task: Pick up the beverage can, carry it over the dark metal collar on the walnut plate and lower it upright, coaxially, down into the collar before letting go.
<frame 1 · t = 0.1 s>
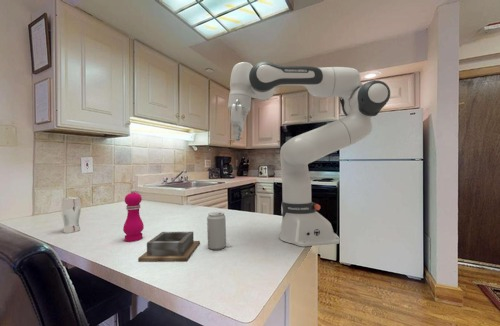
hand: (236, 140, 87), 39 cm above the kitchen counter, tool pointing down, fingers open, 8 cm apart
pepper mill: (133, 239, 88), on the kitchen counter
beverage can: (216, 247, 78), on the kitchen counter
beer glass: (71, 231, 100), on the kitchen counter
collar plate: (172, 251, 74), on the kitchen counter
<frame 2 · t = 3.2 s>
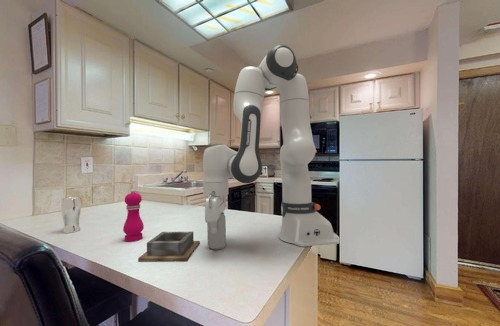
hand: (216, 229, 78), 6 cm above the kitchen counter, tool pointing down, fingers closed on beverage can, 6 cm apart
beverage can: (216, 247, 78), on the kitchen counter, touching gripper
everything else where it was.
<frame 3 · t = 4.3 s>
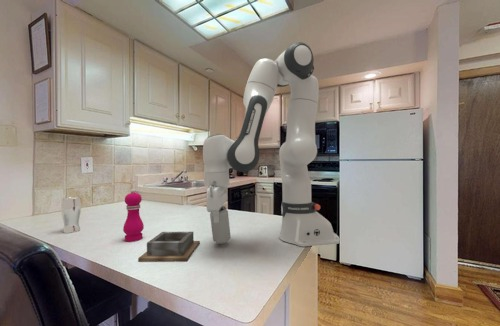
hand: (218, 219, 78), 10 cm above the kitchen counter, tool pointing down, fingers closed on beverage can, 6 cm apart
beverage can: (222, 240, 80), point 1 cm above the kitchen counter, touching gripper
everything else where it was.
when the fingers open (13 cm above the kitchen counter, at t = 8.1 s): beverage can stays where it is, resting on collar plate.
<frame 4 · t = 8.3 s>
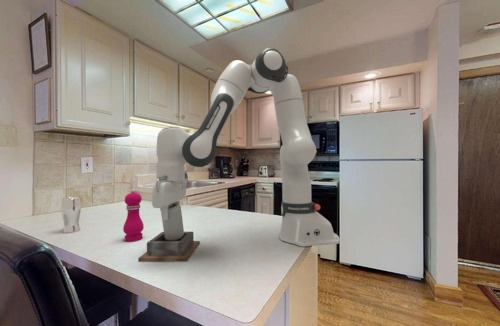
hand: (170, 216, 74), 12 cm above the kitchen counter, tool pointing down, fingers open, 7 cm apart
beverage can: (174, 237, 76), point 4 cm above the kitchen counter, touching collar plate, gripper
everything else where it was.
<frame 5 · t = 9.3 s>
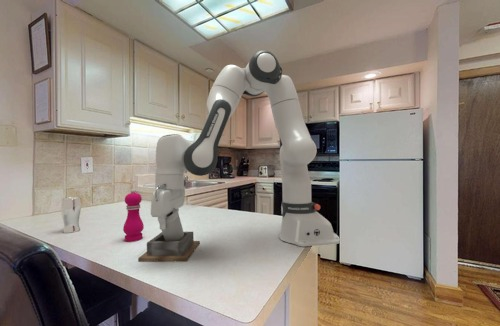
hand: (169, 224, 73), 9 cm above the kitchen counter, tool pointing down
beverage can: (175, 238, 77), point 4 cm above the kitchen counter, touching collar plate, gripper
everything else where it was.
when the fingers open (9 cm above the kitchen counter, at t = 9.4 s): beverage can drops 3 cm, resting on collar plate.
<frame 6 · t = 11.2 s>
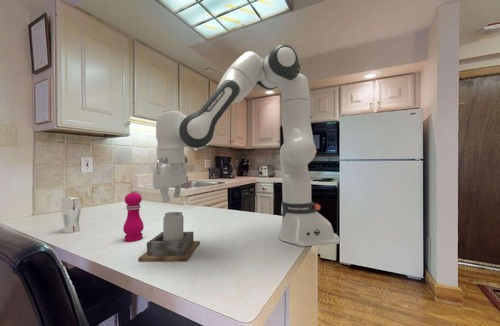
hand: (172, 199, 74), 17 cm above the kitchen counter, tool pointing down, fingers open, 8 cm apart
beverage can: (173, 249, 74), point 1 cm above the kitchen counter, touching collar plate
everything else where it was.
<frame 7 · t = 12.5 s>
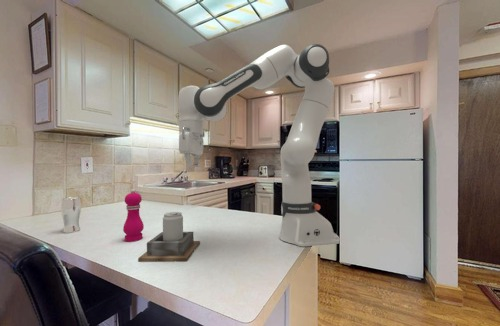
hand: (193, 166, 83), 28 cm above the kitchen counter, tool pointing down, fingers open, 8 cm apart
nothing on the kitchen counter moved.
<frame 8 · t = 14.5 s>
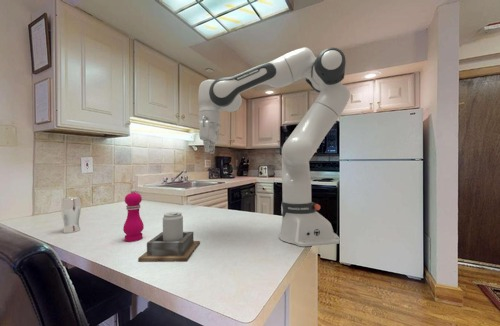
hand: (209, 153, 92), 34 cm above the kitchen counter, tool pointing down, fingers open, 8 cm apart
nothing on the kitchen counter moved.
at the end: beverage can 0.9 cm off-centre on the collar plate, point 0.8 cm above the collar plate's base; beverage can tilted 0°; the gripper is holding nothing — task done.
